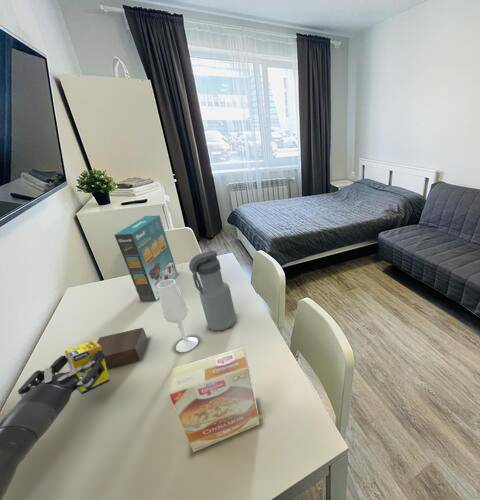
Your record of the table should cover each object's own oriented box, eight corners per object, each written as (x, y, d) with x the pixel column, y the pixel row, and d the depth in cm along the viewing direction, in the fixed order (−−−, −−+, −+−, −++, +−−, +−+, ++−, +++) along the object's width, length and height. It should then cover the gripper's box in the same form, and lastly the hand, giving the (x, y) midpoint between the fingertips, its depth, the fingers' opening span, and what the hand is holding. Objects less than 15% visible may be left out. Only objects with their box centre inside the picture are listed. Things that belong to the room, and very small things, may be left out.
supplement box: (110, 381, 73) (101, 345, 71) (82, 395, 68) (71, 357, 66) (102, 374, 76) (93, 339, 74) (74, 387, 72) (64, 350, 69)
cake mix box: (164, 274, 132) (145, 216, 119) (177, 273, 132) (159, 215, 119) (141, 301, 112) (114, 234, 99) (156, 300, 113) (131, 233, 100)
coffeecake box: (192, 453, 60) (167, 395, 51) (193, 423, 66) (171, 367, 57) (260, 425, 65) (248, 368, 57) (256, 400, 71) (244, 344, 63)
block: (93, 372, 80) (86, 360, 78) (105, 348, 89) (99, 337, 86) (140, 360, 84) (134, 348, 82) (147, 338, 92) (143, 327, 90)
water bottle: (212, 336, 93) (192, 265, 81) (203, 322, 99) (183, 254, 87) (240, 323, 99) (226, 254, 87) (230, 310, 105) (215, 245, 93)
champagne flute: (191, 334, 94) (172, 275, 83) (202, 342, 90) (183, 281, 80) (171, 346, 89) (148, 285, 79) (182, 355, 85) (159, 292, 75)
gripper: (64, 397, 55) (108, 340, 70) (-18, 410, 53) (45, 348, 67) (80, 420, 58) (119, 361, 73) (2, 433, 56) (58, 370, 71)
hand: (83, 355), depth 70 cm, fingers closed on supplement box, 8 cm apart
